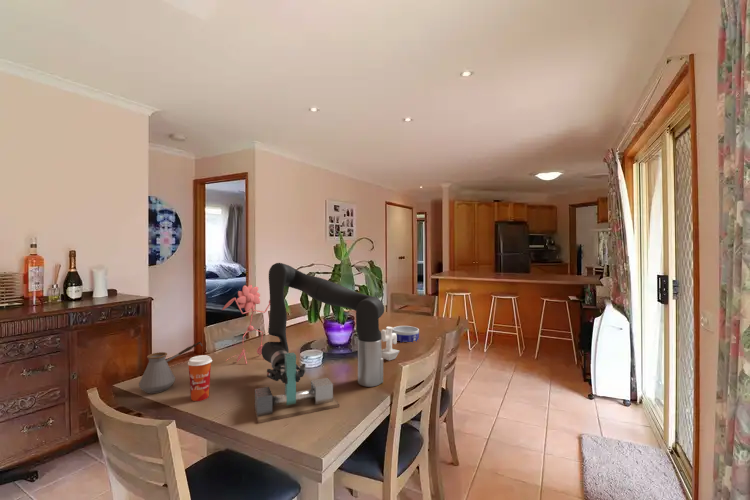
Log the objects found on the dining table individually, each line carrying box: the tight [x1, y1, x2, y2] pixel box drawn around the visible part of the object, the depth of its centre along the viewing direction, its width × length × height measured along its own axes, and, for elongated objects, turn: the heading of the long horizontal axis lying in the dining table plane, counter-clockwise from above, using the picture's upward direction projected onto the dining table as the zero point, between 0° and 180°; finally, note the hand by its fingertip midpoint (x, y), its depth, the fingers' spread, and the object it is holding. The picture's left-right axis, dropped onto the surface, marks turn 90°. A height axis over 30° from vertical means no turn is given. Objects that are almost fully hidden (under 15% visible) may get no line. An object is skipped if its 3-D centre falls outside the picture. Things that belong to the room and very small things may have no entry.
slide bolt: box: [272, 352, 315, 406], centre depth 116 cm, size 19×3×16 cm, turn 115°
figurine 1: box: [221, 284, 270, 365], centre depth 164 cm, size 15×26×35 cm, turn 141°
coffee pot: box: [138, 341, 203, 394], centre depth 133 cm, size 21×12×15 cm, turn 133°
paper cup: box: [187, 354, 213, 402], centre depth 123 cm, size 8×8×14 cm
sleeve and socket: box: [254, 377, 334, 418], centre depth 116 cm, size 24×7×6 cm, turn 115°
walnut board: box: [253, 395, 340, 424], centre depth 116 cm, size 26×11×1 cm, turn 115°
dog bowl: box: [392, 325, 420, 343], centre depth 199 cm, size 15×15×6 cm
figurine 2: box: [380, 326, 400, 361], centre depth 165 cm, size 7×9×15 cm
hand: (292, 380), depth 113 cm, fingers closed on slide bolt, 3 cm apart
